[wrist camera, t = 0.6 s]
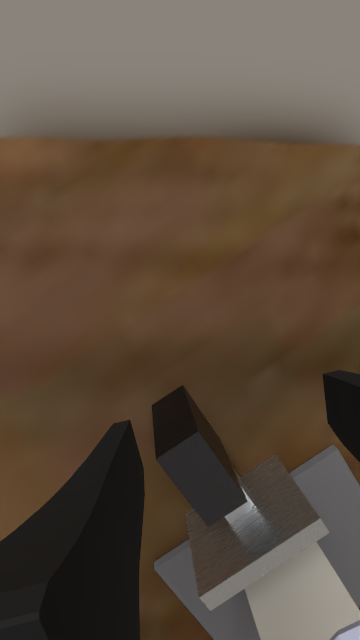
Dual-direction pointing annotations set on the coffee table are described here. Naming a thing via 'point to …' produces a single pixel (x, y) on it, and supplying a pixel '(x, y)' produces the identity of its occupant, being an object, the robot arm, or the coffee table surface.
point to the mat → (339, 545)
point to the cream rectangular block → (301, 599)
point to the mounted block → (229, 503)
